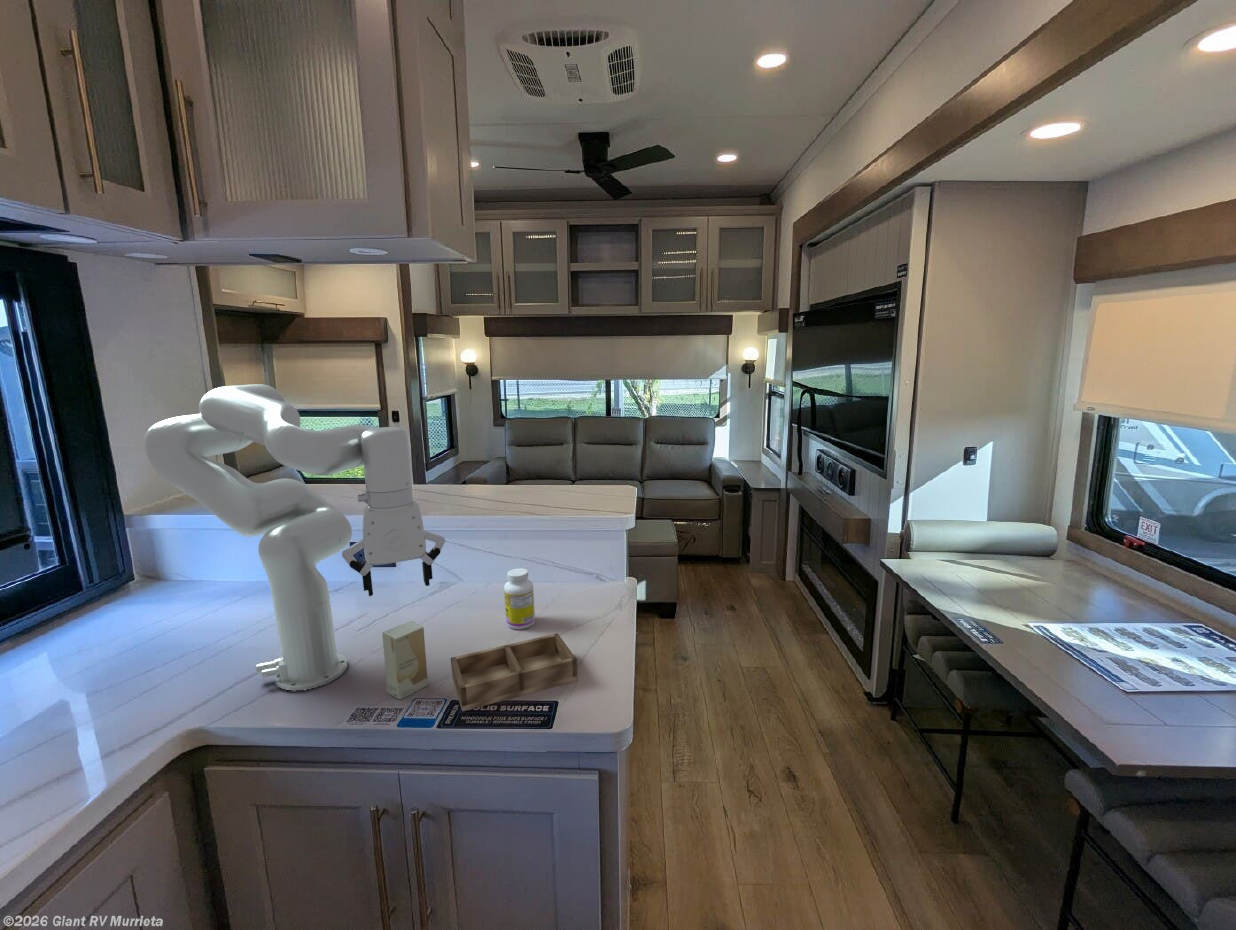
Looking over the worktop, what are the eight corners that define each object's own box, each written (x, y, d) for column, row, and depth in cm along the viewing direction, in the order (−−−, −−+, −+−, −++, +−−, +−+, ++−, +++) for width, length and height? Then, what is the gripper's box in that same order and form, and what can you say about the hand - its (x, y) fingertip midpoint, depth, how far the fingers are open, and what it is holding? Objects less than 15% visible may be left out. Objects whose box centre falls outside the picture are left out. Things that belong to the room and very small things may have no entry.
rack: (462, 711, 100) (460, 688, 99) (452, 678, 110) (450, 657, 110) (577, 680, 109) (576, 659, 108) (558, 652, 119) (557, 633, 118)
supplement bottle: (509, 617, 136) (506, 566, 133) (537, 617, 135) (534, 566, 133) (503, 630, 129) (500, 577, 127) (532, 630, 129) (529, 577, 126)
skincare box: (399, 701, 104) (393, 639, 101) (386, 693, 106) (379, 633, 104) (430, 684, 109) (424, 625, 106) (416, 677, 111) (411, 619, 109)
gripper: (335, 509, 93) (347, 605, 97) (444, 496, 101) (451, 586, 104) (336, 498, 100) (347, 589, 104) (438, 487, 107) (444, 572, 111)
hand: (399, 588), depth 104 cm, fingers open, 9 cm apart
